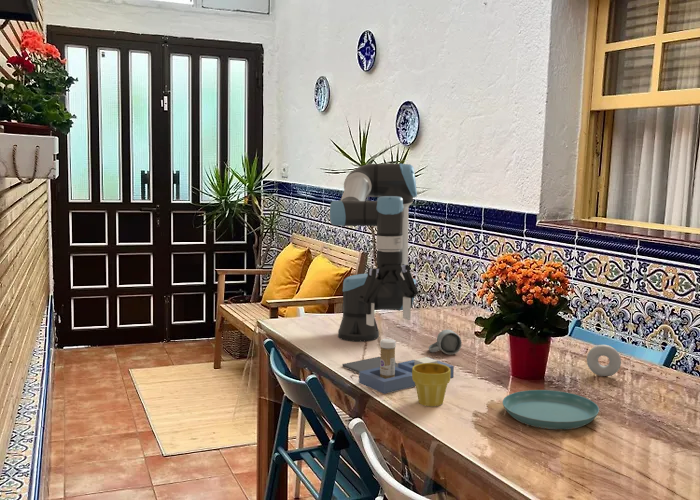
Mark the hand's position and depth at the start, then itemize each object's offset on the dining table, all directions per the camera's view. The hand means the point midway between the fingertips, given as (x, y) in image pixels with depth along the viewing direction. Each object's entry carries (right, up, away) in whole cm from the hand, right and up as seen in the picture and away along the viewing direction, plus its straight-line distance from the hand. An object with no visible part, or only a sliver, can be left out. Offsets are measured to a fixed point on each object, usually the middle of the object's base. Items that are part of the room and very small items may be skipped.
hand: (388, 322), depth 207 cm
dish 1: (0, -19, +2) cm, 19 cm away
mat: (-3, -17, +19) cm, 25 cm away
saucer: (+41, -23, -22) cm, 52 cm away
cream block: (+12, -18, +11) cm, 24 cm away
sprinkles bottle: (0, -19, +2) cm, 19 cm away
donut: (+66, -18, +11) cm, 70 cm away
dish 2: (+12, -18, +11) cm, 24 cm away
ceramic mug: (+21, -14, +38) cm, 46 cm away
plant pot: (+11, -21, -13) cm, 27 cm away
